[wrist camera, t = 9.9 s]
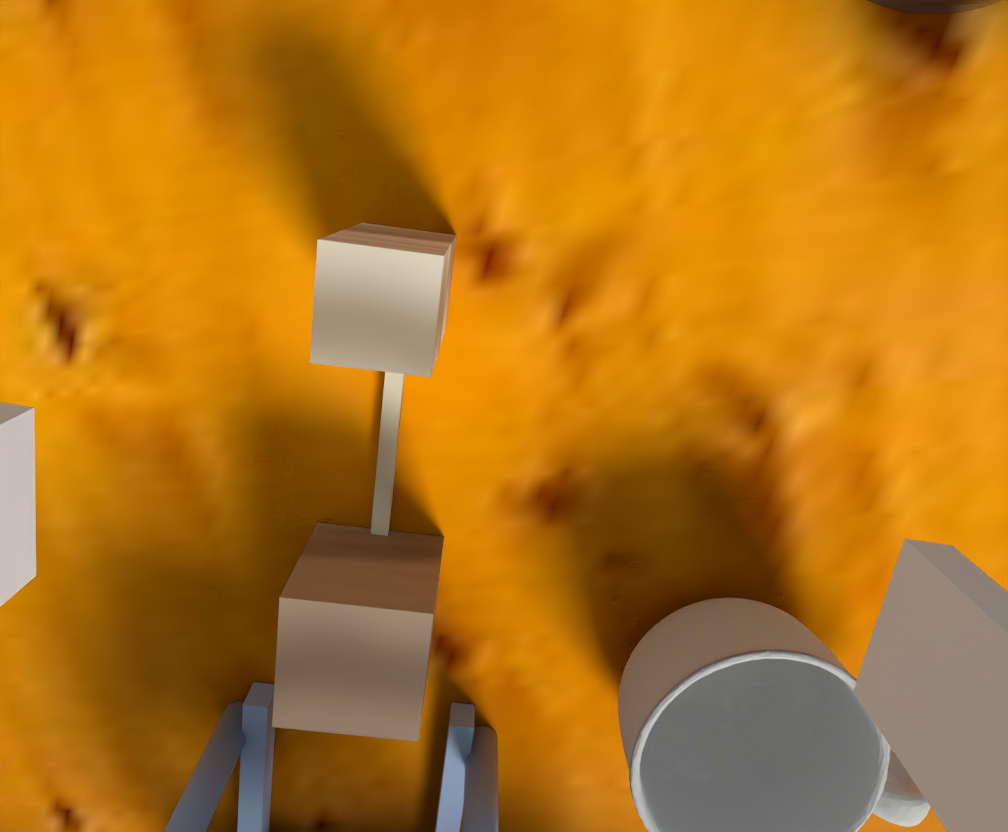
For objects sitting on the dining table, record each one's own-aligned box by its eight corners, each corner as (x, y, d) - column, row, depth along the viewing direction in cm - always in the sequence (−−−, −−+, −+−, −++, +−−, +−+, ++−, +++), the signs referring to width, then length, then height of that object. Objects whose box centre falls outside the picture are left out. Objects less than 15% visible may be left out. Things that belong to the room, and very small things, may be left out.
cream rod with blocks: (338, 219, 34) (285, 235, 25) (479, 238, 34) (475, 259, 25) (309, 633, 40) (258, 761, 31) (430, 646, 40) (413, 776, 31)
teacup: (564, 695, 41) (581, 816, 33) (685, 527, 38) (734, 616, 31) (784, 807, 43) (847, 945, 35) (912, 655, 40) (1011, 768, 33)
